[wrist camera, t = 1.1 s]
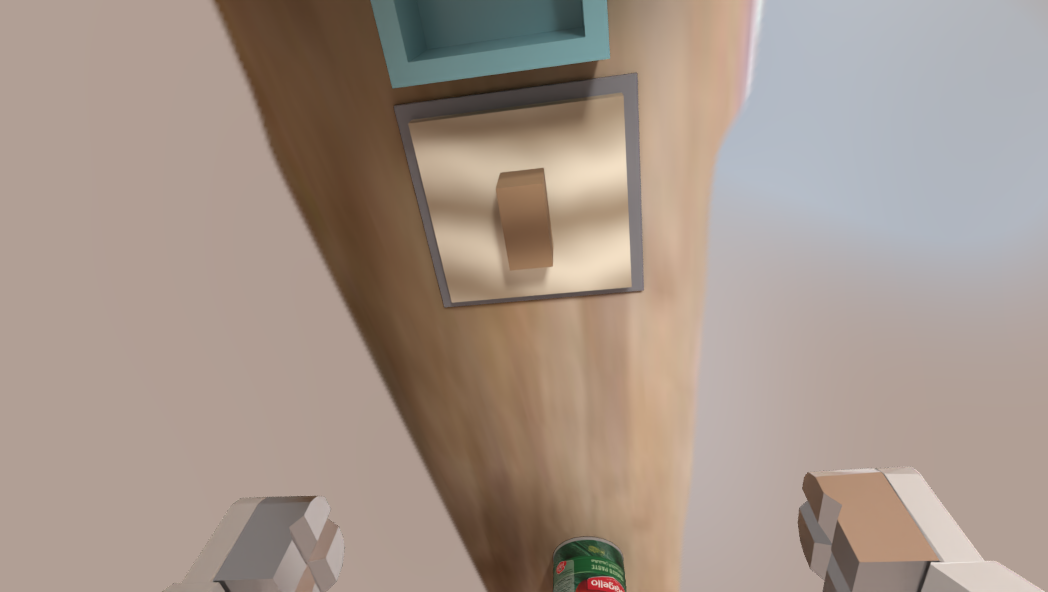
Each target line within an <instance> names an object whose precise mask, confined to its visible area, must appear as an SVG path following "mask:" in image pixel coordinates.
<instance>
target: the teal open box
mask: <svg viewBox="0 0 1048 592" xmlns="http://www.w3.org/2000/svg"><path fill="white" fill-rule="evenodd" d="M370 1H371V5H372V9H373V13H374V17H375V21H376V25H377V29H378V33H379V37H380V41H381V45H382V49H383V53H384V57H385V61H386V65H387V69H388V73H389V77H390V81H391V85H392V89H393V88H400V87H407V86H415V85H422V84H429V83H436V82H444V81H451V80H458V79H465V78H473V77H480V76H487V75H494V74H502V73H509V72H516V71H523V70H531V69H538V68H545V67H552V66H560V65H567V64H574V63H582V62H589V61H596V60H603V59H610V49H609V30H608V11H607V0H370Z"/></svg>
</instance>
